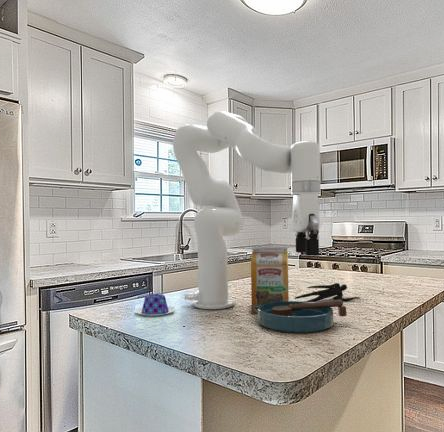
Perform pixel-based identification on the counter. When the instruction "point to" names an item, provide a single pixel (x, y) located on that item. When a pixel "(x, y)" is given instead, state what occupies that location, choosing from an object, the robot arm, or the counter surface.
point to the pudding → (155, 306)
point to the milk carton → (269, 276)
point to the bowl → (295, 318)
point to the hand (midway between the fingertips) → (306, 253)
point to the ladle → (309, 307)
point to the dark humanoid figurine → (328, 293)
